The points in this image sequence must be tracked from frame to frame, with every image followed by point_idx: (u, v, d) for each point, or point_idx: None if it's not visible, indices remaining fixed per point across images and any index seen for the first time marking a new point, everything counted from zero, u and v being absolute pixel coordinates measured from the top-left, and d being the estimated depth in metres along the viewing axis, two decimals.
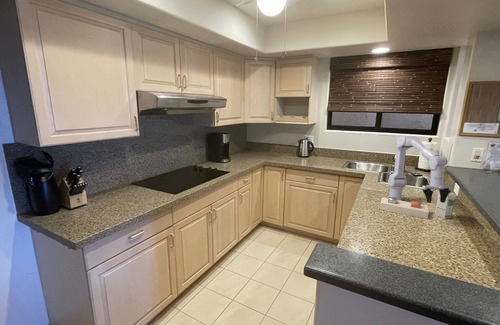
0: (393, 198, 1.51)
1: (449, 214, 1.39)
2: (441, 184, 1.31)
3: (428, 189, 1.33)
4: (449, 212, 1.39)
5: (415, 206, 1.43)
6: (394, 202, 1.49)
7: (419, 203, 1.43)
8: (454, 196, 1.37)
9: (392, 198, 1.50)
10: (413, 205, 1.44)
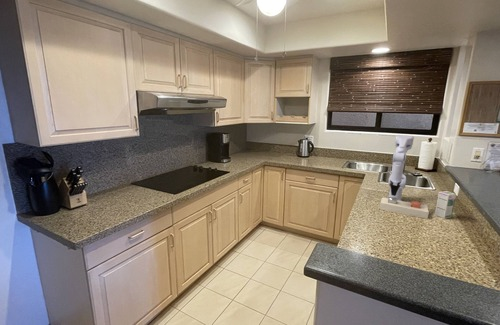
0: (393, 198, 1.51)
1: (449, 214, 1.39)
2: (390, 176, 1.49)
3: None
4: (449, 212, 1.39)
5: (415, 206, 1.43)
6: (394, 202, 1.49)
7: (419, 203, 1.43)
8: (454, 196, 1.37)
9: (392, 198, 1.50)
10: (413, 205, 1.44)
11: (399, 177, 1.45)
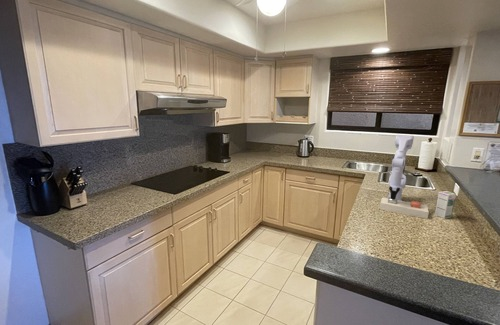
0: None
1: (449, 214, 1.39)
2: (390, 182, 1.50)
3: None
4: (449, 212, 1.39)
5: (415, 206, 1.43)
6: (394, 202, 1.49)
7: (419, 203, 1.43)
8: (454, 196, 1.37)
9: None
10: (413, 205, 1.44)
11: (398, 182, 1.46)
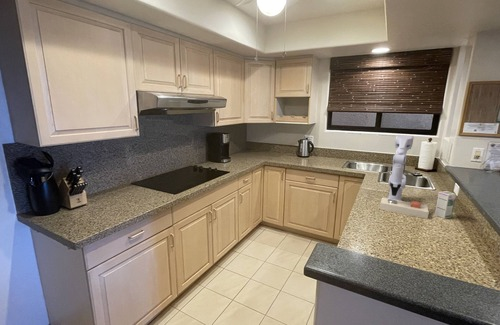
0: (393, 200, 1.51)
1: (449, 214, 1.39)
2: (391, 178, 1.49)
3: None
4: (449, 212, 1.39)
5: (415, 206, 1.43)
6: None
7: (419, 203, 1.43)
8: (454, 196, 1.37)
9: (392, 200, 1.51)
10: (413, 205, 1.44)
11: (399, 179, 1.45)
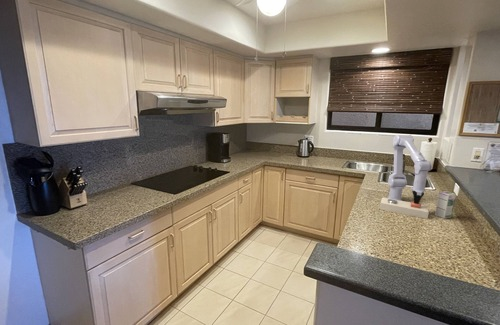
0: (393, 200, 1.51)
1: (449, 214, 1.39)
2: (413, 186, 1.43)
3: None
4: (449, 212, 1.39)
5: (415, 207, 1.43)
6: None
7: (419, 204, 1.43)
8: (454, 196, 1.37)
9: (392, 200, 1.51)
10: (413, 206, 1.44)
11: (423, 186, 1.39)
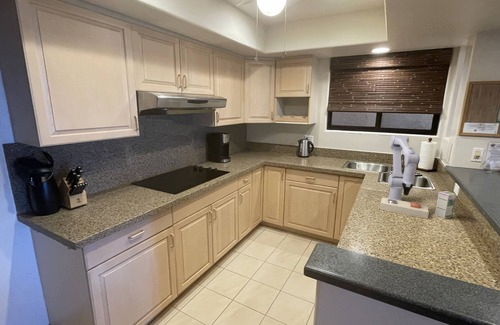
0: (393, 200, 1.51)
1: (449, 214, 1.39)
2: (403, 178, 1.48)
3: None
4: (449, 212, 1.39)
5: None
6: None
7: (419, 205, 1.43)
8: (454, 196, 1.37)
9: (392, 200, 1.51)
10: None
11: (412, 178, 1.44)
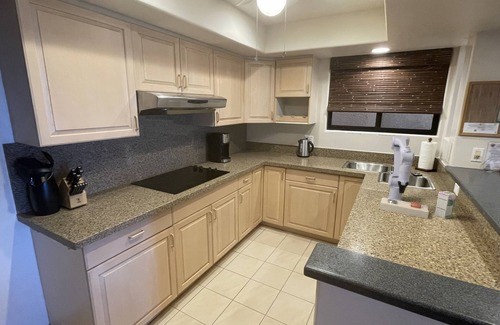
0: (393, 200, 1.51)
1: (449, 214, 1.39)
2: (398, 176, 1.50)
3: None
4: (449, 212, 1.39)
5: None
6: None
7: (419, 205, 1.43)
8: (454, 196, 1.37)
9: (392, 200, 1.51)
10: None
11: (407, 177, 1.46)
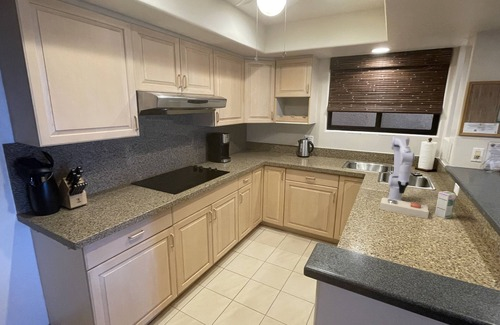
0: (393, 200, 1.51)
1: (449, 214, 1.39)
2: (398, 176, 1.50)
3: None
4: (449, 212, 1.39)
5: None
6: None
7: (419, 205, 1.43)
8: (454, 196, 1.37)
9: (392, 200, 1.51)
10: None
11: (407, 177, 1.46)
